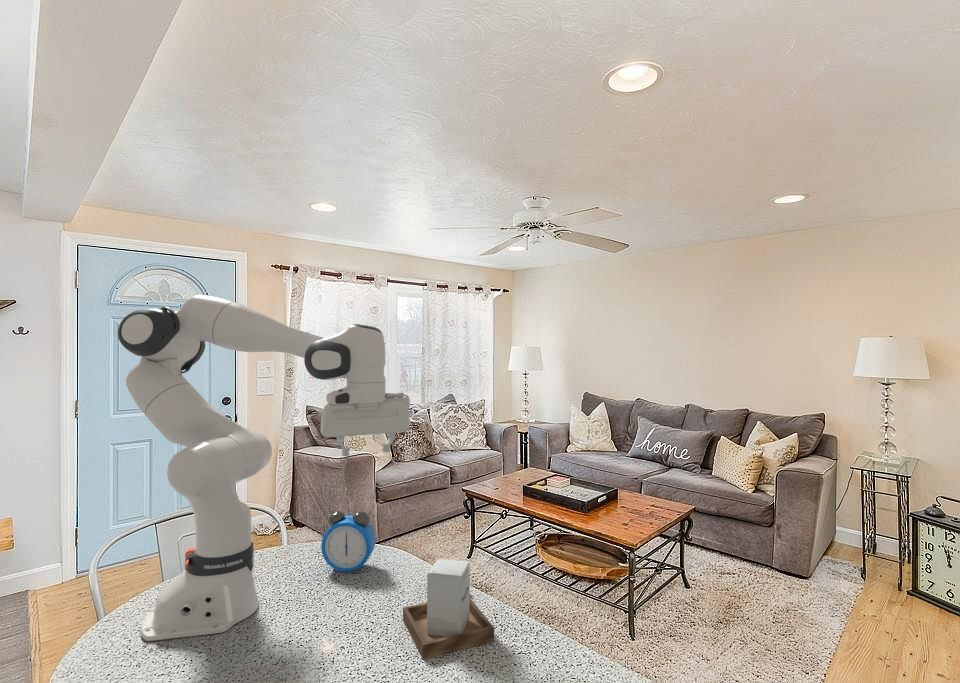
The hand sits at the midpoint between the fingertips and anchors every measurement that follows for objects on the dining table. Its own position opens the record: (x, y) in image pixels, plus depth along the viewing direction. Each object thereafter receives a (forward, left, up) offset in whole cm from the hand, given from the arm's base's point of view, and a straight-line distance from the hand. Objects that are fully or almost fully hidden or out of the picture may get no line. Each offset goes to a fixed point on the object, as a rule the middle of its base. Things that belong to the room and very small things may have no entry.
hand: (366, 453), depth 118 cm
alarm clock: (-1, +19, -34) cm, 39 cm away
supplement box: (+13, -19, -34) cm, 41 cm away
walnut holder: (+13, -19, -34) cm, 41 cm away
